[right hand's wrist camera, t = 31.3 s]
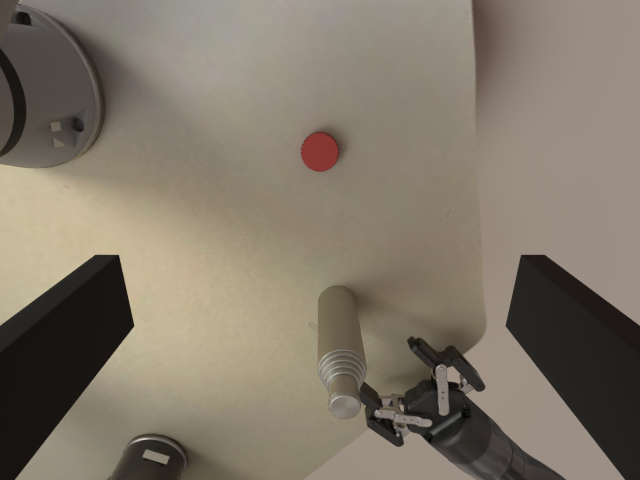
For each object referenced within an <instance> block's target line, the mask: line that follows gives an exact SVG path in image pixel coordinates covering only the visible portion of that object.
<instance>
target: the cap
mask: <svg viewBox="0 0 640 480" xmlns="http://www.w3.org/2000/svg"><path fill="white" fill-rule="evenodd" d="M302 146H303V147H302V148H301V150H302V152H301V154H302V159H303V162H304V163H305V164H306V165H307V167H309V168H310V169H312V170H314V171H326V170H328V169H330V168H331V167H332V166H333V165H334V164H335V163H336V161H337V158H338V154H339V152H338V150H339V149H338V147H337V146H338V145H337V144H336V141H335V140H334V139H333V137H331V136H330V135H328V134H326V133H322V132H317V133H313V134H312V135H311V134H310V136H309V137H307V139H306V140H304V144H303V145H302Z"/></svg>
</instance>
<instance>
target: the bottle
mask: <svg viewBox="0 0 640 480" xmlns="http://www.w3.org/2000/svg"><path fill="white" fill-rule="evenodd" d="M366 371H367V367H366V360H365V354H364V348H363V342H362V336H361V330H360V324H359V318H358V312H357V306H356V300H355V297H354V295H353V293H352V292H351V291H350V290H348V289H347V288H344V287H340V286H334V287H330V288H328V289H326V290H325V291H323V292H322V294H321V295H320V297H319V300H318V374H319V378H320V380H321V382H322V383H323V385H324V386H325V388H326V389H327V391H328V392H329V411H331V413H332V414H333V415H334V416H335V417H337V418H340V419H350V418H352V417H354V416H356V415H357V414H358V413H359V411H360V408H361V400H360V398H359V390H360V387H361V385H362V383H363V381H364V379H365V377H366Z"/></svg>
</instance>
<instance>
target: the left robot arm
mask: <svg viewBox="0 0 640 480" xmlns="http://www.w3.org/2000/svg"><path fill="white" fill-rule="evenodd" d="M407 341H408V344H409V347H410V349H411V350H412V352H413V353H414V354H416V355H417V356H418V357H419V358H420V359H421V360H422V361H423V362H424V363H426V364H427V365H428V366H429V367H430V380H426V381H425V380H422V381H421V382H420V383H419V384H418V385H417V386H416V387H415V388H413V389H410V390H409V391H407V392H406V393H405V395H400V394H391V396H382V395H378V393H377V392H376V391H375V390H374V389H372V388H371V387H370V386H369V385H368V384H366V383H365V382H364V381H363V383H362V385H361V387H360V390H359V398H360V400H361V402H362V403H363V404H364V405H366V406H367V407H365V414H366V421H367V426H368V427H369V428H370V429H372V430H373V431H375V432H376V433H378V434H379V435H381V436H382V437H384V438H385V439H386V440H388V441H389V442H391V443H392V444H394V445H395V446H397V447H400V446H402V445H403V444H404V441H403V437H405V436H406V435H407V434H409V433H410V432H413V433H417V434H420V435H421V436H422V437H423V438H424V439H425V440H426V441H427V442H428V443H429V444H430V445H431V446H433V447H434V448H435V449H436V450H437V451H439V452H440V453H441V454H442V455H444V456H445V457H446V458H447V459H448V460H449V461H450V462H452V463H453V464H455V465H456V466H457V467H458V468H460V469H461V470H462V471H464V472H465V473H467V474H469V475H471V476H472V477H474V478H475V479H476V480H566V479H565V478H563V477H562V476H561V475H559V474H558V473H557V472H555V471H554V470H552V469H551V468H549V467H547V466H546V465H544V464H543V463H541V462H540V461H538V460H536V459H534V458H533V457H531V456H530V455H528V454H527V453H525V452H524V451H523V450H522V449H521V448H520V447H519V446H518V445H517V444H516V443H514V442H513V441H512V440H511V439H510V438H509V437H508V436H507V435H506V434H505V433H504V432H503V431H502V430H501V429H500V427H499V426H498V425H497V424H496V423H495V422H494V421H493V420H492V419H491V418H490V417H489V416H488V415H487V414H485V413H484V412H483V411H482V410H481V409H480V408H479V407H478V406H477V405H476V404H474V403H473V402H472V401H471V400H470V399H469V398H468V397H467V396H466V395H465V394H466V393H468V392H470V391H471V390H473V389H475V390H476V391H478V392H480V391H483V390H484V389H485V385H484V383H483V382H482V380H481V378H480V376H479V374H478V373H477V371H476V370H475V369H474V368H473V367H472V365H471V364H470V363H469V362H468V361H467V360H466V359H465V358H464V357H463V356H462V354H461V353H460V352H459V351H458V350H457V349H456V348H455V347H454V346H452V345H450V346H448V347H446V349H445V351H442V352H438V351H435V350H434V349H433V348H432V347H431V346H430V345H429V344H427V343H426V342H425V341H424V340H423V339H422V338H419V337H418V338H417V339H415V338H414V337H413V336H412V337H410V338H409V339H408V340H407ZM451 366H453V367H454V368H455V369H456V370H457V371H458V372H459V373H460V374H461V375H460V380H461V382H460V384H458V383H455V382H448V381H447V368H448V367H451ZM399 405H404V412H402V411H401V410H400V407H399ZM383 406H389V407H390V408H384V407H383ZM391 419H392V420H391ZM186 465H187V456H186V453H185V451H184V450H183V449H182V447H181V446H180V445H179V444H177V443H176V442H174V441H173V440H171V439H169V438H166V437H163V436H158V435H144V436H140V437H137V438H135V439H133V440H132V441H130V442H129V443H128V445H127V446H126V448H125V450H124V452H123V455H122V457H121V459H120V461H119V463H118V465H117V466H116V468H115V470H114V472H113V474H112V476H110V477H109V478H108V480H181V477H182V474H183V472H184V470H185V468H186Z"/></svg>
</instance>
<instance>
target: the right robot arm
mask: <svg viewBox="0 0 640 480" xmlns="http://www.w3.org/2000/svg"><path fill="white" fill-rule="evenodd" d="M18 1H19V0H0V164H3V165H10V166H16V167H23V168H47V167H53V166H57V165H60V164H63V163H67V162H69V161H72V160H74V159H76V158H78V157H79V156H81V155H82V154H83V153H85V152H86V151H87V150H88V149H89V148H90V147H91V145H92V144H93V143H94V141H95V140H96V138H97V136H98V134H99V131H100V129H101V125H102V121H103V115H104V98H103V91H102V87H101V83H100V80H99V77H98V74H97V71H96V69H95V67H94V65H93V63H92V61H91V59H90V57H89V56H88V54H87V53H86V51H85V50H84V48H83V47H82V45H81V44H80V43H79V42H78V41H77V39H76V38H75V37H74V36H73V35H72V34H71V33H70V32H69V31H68V30H67V29H66V28H64V27H63V26H62V25H61V24H60V23H58V22H57V21H56V20H54V19H53V18H51V17H49V16H48V15H46V14H44V13H42V12H40V11H38V10H36V9H33V8H31V7H28V6H24V5H21V4H17V3H18ZM133 327H134V322H133V318H132V313H131V308H130V304H129V299H128V295H127V290H126V285H125V281H124V276H123V272H122V267H121V262H120V258H119V255H95V256H93V257H92V258H91V259H89V260H88V261H87V262H85V263H84V264H82V265H81V266H80V267H78V268H77V269H76V270H74V271H73V272H72V273H70V274H69V275H68V276H66V277H65V278H64V279H62V280H61V281H60V282H58V283H57V284H56V285H54V286H53V287H52V288H50V289H49V290H48V291H46V292H45V293H44V294H42V295H41V296H40V297H38V298H37V299H36V300H34V301H33V302H31V303H30V304H29V305H27V306H26V307H25V308H23V309H22V310H21V311H19V312H18V313H17V314H15V315H14V316H13V317H11V318H10V319H9V320H7V321H6V322H5V323H3V324H2V325H1V326H0V480H15V479H16V478H17V476H18V475H19V474H20V472H21V471H22V470H23V469H24V467H25V466H26V465H27V463H28V462H29V461H30V460H31V458H32V457H33V456H34V454H35V453H36V452H37V451H38V449H39V448H40V447H41V445H42V444H43V443H44V442H45V440H46V439H47V438H48V436H49V435H50V434H51V433H52V431H53V430H54V429H55V427H56V426H57V425H58V424H59V422H60V421H61V420H62V418H63V417H64V416H65V415H66V413H67V412H68V411H69V409H70V408H71V407H72V406H73V404H74V403H75V402H76V400H77V399H78V398H79V397H80V395H81V394H82V393H83V391H84V390H85V389H86V388H87V386H88V385H89V384H90V382H91V381H92V380H93V379H94V377H95V376H96V375H97V373H98V372H99V371H100V370H101V368H102V367H103V366H104V364H105V363H106V362H107V361H108V359H109V358H110V357H111V355H112V354H113V353H114V352H115V350H116V349H117V348H118V346H119V345H120V344H121V343H122V341H123V340H124V339H125V337H126V336H127V335H128V334H129V332H130V331H131V330H132V328H133ZM506 327H507V328H508V330H509V331H510V332H511V334H512V335H513V336H514V337H515V339H516V340H517V341H518V343H519V344H520V345H521V346H522V348H523V349H524V350H525V352H526V353H527V354H528V355H529V357H530V358H531V359H532V361H533V362H534V363H535V364H536V366H537V367H538V368H539V370H540V371H541V372H542V373H543V375H544V376H545V377H546V379H547V380H548V381H549V382H550V384H551V385H552V386H553V388H554V389H555V390H556V391H557V393H558V394H559V395H560V397H561V398H562V399H563V400H564V402H565V403H566V404H567V406H568V407H569V408H570V409H571V411H572V412H573V413H574V415H575V416H576V417H577V418H578V420H579V421H580V422H581V424H582V425H583V426H584V427H585V429H586V430H587V431H588V433H589V434H590V435H591V436H592V438H593V439H594V440H595V442H596V443H597V444H598V445H599V447H600V448H601V449H602V451H603V452H604V453H605V454H606V456H607V457H608V458H609V460H610V461H611V462H612V463H613V465H614V466H615V467H616V468H617V470H618V471H619V472H620V474H621V475H622V476H623V478H624V479H625V480H640V326H639V325H638V324H637V323H635V322H634V321H633V320H631V319H630V318H629V317H627V316H626V315H625V314H623V313H622V312H620V311H619V310H618V309H617V308H615V307H614V306H612V305H611V304H610V303H609V302H607V301H606V300H604V299H603V298H602V297H600V296H599V295H598V294H596V293H595V292H594V291H592V290H591V289H590V288H588V287H587V286H586V285H584V284H583V283H582V282H580V281H579V280H578V279H576V278H575V277H574V276H572V275H571V274H570V273H568V272H567V271H566V270H564V269H563V268H562V267H560V266H559V265H558V264H556V263H555V262H553V261H552V260H551V259H549V258H548V257H547V256H545V255H521V258H520V262H519V267H518V272H517V276H516V281H515V285H514V290H513V295H512V299H511V304H510V308H509V313H508V318H507V322H506Z"/></svg>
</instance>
